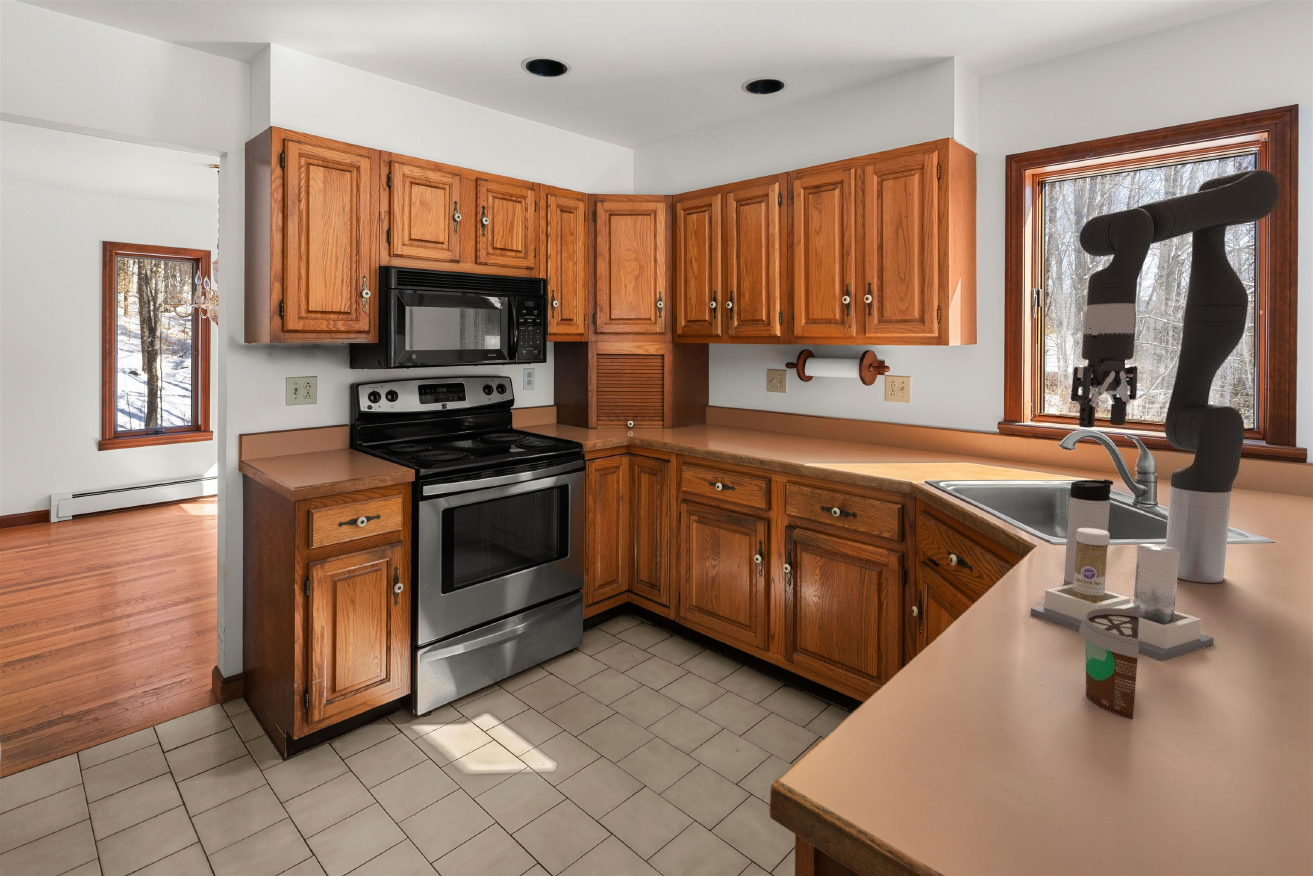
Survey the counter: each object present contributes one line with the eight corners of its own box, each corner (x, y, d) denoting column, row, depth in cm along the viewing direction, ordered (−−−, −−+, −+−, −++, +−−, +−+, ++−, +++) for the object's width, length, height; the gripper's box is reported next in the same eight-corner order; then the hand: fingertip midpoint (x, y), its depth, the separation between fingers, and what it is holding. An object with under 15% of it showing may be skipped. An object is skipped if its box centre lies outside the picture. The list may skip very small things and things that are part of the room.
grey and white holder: (1081, 602, 122) (1082, 579, 121) (1213, 644, 104) (1215, 618, 103) (1030, 614, 116) (1031, 590, 115) (1161, 660, 98) (1163, 633, 98)
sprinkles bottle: (1073, 614, 113) (1079, 532, 112) (1068, 605, 117) (1074, 525, 116) (1106, 618, 111) (1113, 534, 110) (1100, 608, 116) (1106, 528, 114)
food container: (1078, 672, 95) (1083, 600, 93) (1134, 684, 91) (1140, 609, 90) (1070, 709, 84) (1076, 629, 83) (1132, 724, 81) (1139, 641, 80)
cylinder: (1143, 625, 108) (1150, 542, 107) (1179, 636, 104) (1187, 550, 103) (1123, 630, 106) (1130, 546, 105) (1159, 642, 102) (1166, 554, 100)
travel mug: (1111, 593, 126) (1119, 483, 124) (1071, 591, 127) (1078, 482, 125) (1097, 582, 132) (1104, 477, 130) (1058, 580, 133) (1065, 476, 131)
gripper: (1112, 333, 127) (1106, 422, 129) (1060, 332, 121) (1054, 426, 123) (1157, 331, 120) (1149, 426, 122) (1104, 330, 114) (1097, 430, 116)
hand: (1102, 426), depth 122 cm, fingers open, 8 cm apart
